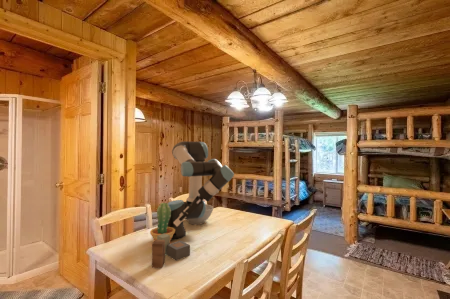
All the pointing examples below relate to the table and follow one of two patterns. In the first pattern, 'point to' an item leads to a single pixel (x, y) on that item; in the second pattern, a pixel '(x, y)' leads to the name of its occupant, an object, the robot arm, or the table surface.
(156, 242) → the walnut block
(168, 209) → the potted cactus
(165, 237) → the sage block
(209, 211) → the decorative bowl
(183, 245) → the charcoal base block
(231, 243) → the table surface
